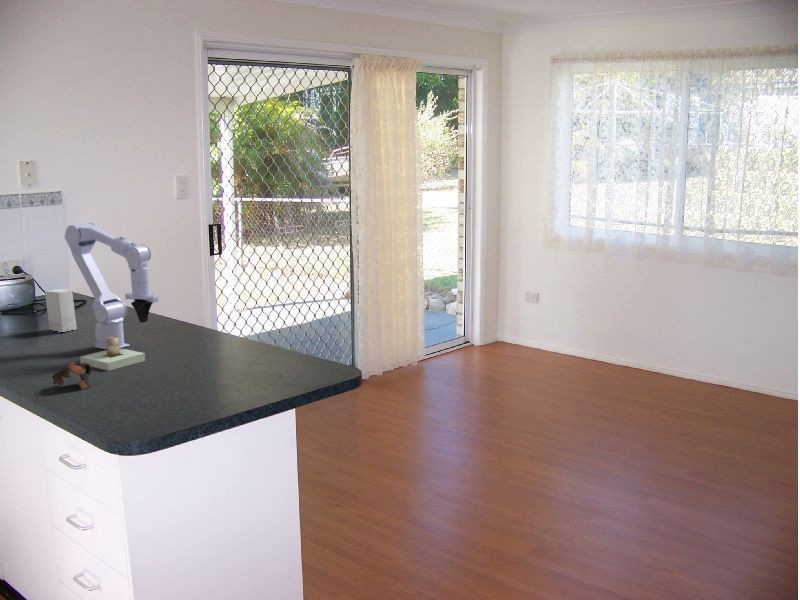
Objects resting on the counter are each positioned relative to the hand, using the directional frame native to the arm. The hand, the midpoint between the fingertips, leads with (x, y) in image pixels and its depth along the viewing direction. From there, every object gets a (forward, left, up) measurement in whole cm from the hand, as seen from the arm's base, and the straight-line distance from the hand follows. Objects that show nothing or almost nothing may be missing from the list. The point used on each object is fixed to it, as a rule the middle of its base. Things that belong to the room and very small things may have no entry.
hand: (143, 321), depth 278 cm
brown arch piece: (+15, -38, -11) cm, 42 cm away
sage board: (+3, -15, -10) cm, 18 cm away
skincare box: (-52, +4, -10) cm, 54 cm away
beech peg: (+3, -15, -10) cm, 18 cm away
